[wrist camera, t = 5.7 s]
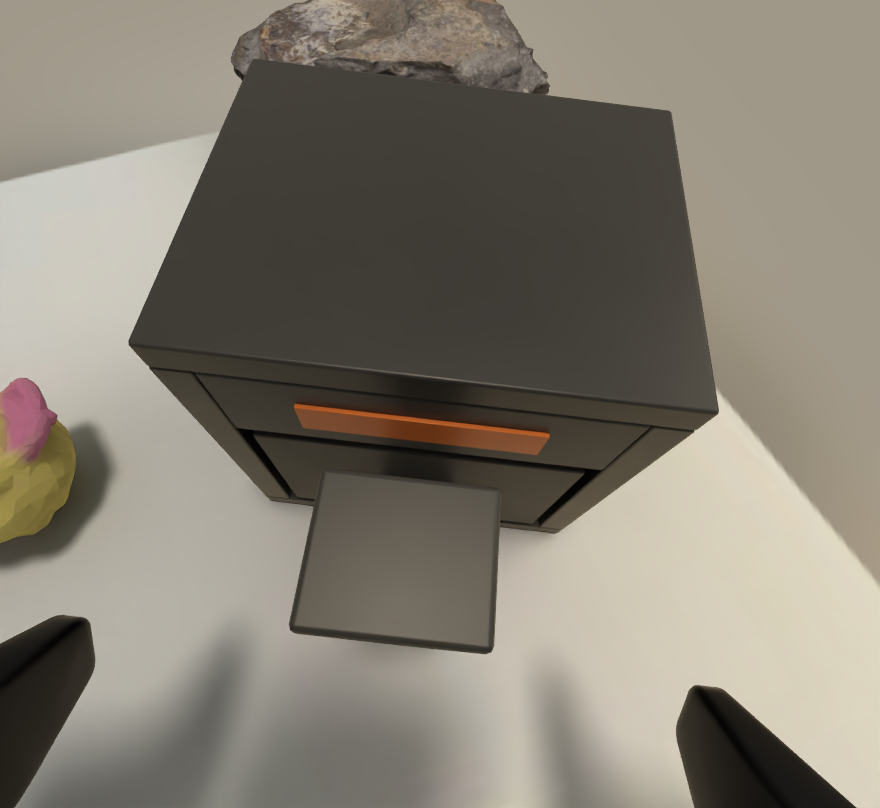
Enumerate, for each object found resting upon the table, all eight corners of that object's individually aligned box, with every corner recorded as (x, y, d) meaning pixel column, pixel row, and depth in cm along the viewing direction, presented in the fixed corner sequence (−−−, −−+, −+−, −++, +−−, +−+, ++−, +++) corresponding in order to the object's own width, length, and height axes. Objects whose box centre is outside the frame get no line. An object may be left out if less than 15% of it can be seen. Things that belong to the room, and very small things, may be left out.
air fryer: (557, 536, 17) (722, 419, 8) (268, 503, 17) (122, 349, 8) (557, 340, 21) (672, 109, 12) (317, 311, 21) (251, 56, 12)
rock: (459, 28, 30) (467, -90, 26) (581, 132, 26) (617, 13, 21) (231, 98, 26) (191, -27, 22) (333, 234, 22) (310, 116, 17)
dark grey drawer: (529, 659, 15) (727, 680, 6) (266, 630, 15) (46, 606, 6) (535, 349, 20) (649, 93, 11) (335, 326, 19) (276, 46, 10)
